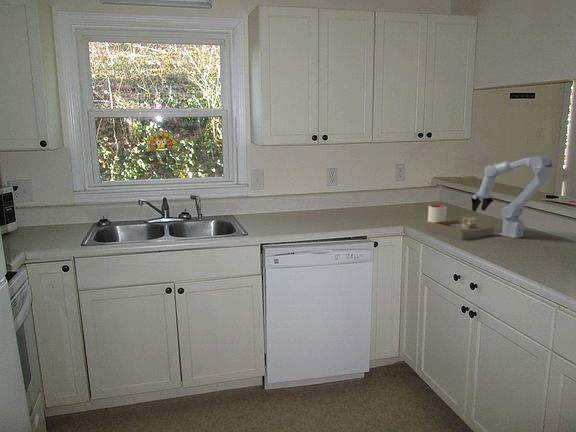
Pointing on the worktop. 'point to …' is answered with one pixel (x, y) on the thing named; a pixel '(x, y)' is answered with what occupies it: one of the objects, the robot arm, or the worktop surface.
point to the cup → (437, 213)
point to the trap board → (457, 230)
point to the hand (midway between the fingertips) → (478, 210)
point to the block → (469, 222)
